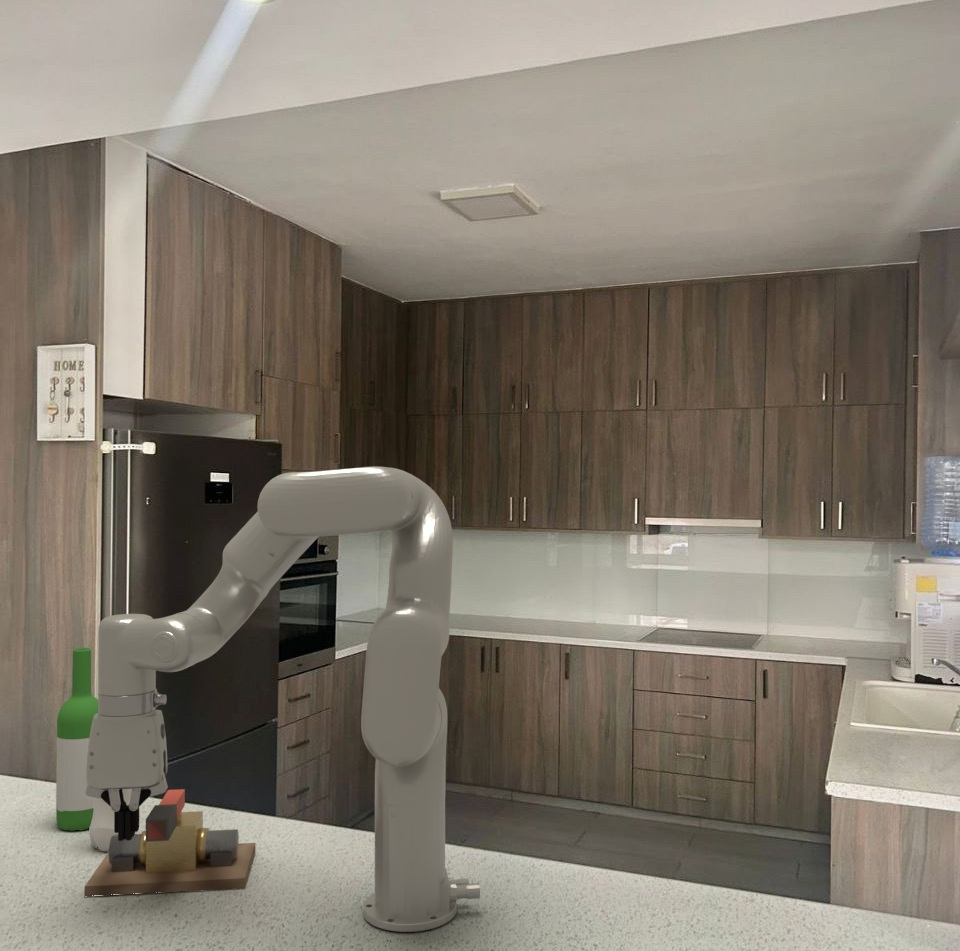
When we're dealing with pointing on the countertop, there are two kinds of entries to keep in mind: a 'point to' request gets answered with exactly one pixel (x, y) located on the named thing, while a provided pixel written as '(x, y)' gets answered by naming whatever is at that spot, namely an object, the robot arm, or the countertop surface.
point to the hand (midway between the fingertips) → (126, 836)
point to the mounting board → (172, 877)
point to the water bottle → (104, 822)
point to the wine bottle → (75, 748)
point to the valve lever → (165, 816)
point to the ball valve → (176, 848)
